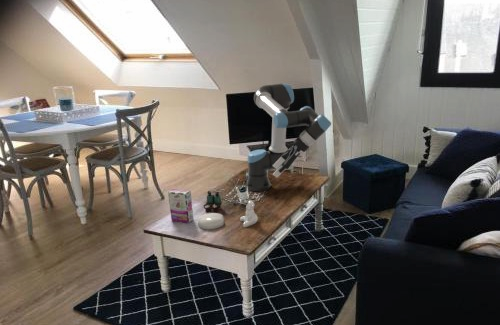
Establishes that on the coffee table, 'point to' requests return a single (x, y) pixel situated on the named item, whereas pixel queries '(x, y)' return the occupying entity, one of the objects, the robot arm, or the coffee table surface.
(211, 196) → the green bottle cruet set
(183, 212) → the candy bar box
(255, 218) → the white creature statuette
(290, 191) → the coffee table surface
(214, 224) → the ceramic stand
